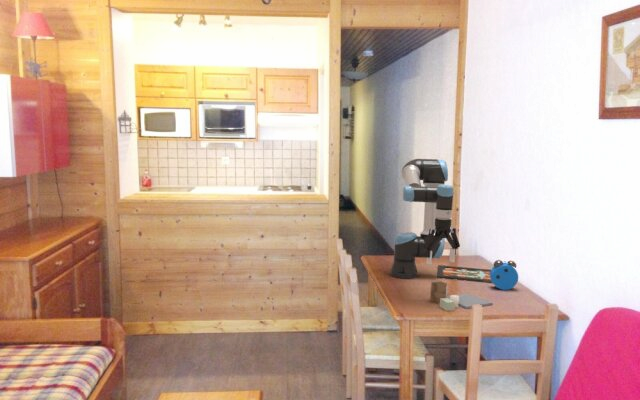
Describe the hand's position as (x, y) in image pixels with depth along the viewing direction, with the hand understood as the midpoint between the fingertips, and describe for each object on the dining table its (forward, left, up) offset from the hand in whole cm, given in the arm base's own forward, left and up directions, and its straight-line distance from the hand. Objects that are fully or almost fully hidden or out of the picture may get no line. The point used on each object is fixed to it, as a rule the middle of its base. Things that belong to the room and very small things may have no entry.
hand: (440, 263), depth 251 cm
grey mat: (+6, +13, -18) cm, 23 cm away
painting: (-32, +48, -19) cm, 61 cm away
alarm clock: (-4, +46, -19) cm, 50 cm away
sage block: (+10, -3, -19) cm, 21 cm away
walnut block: (0, 0, -18) cm, 18 cm away
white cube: (-7, +8, -19) cm, 21 cm away
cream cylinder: (+9, +2, -18) cm, 20 cm away
